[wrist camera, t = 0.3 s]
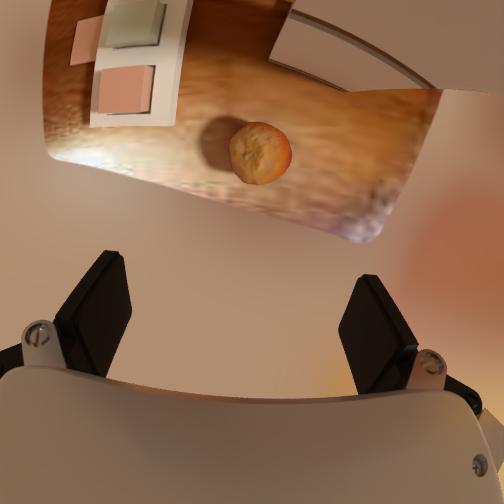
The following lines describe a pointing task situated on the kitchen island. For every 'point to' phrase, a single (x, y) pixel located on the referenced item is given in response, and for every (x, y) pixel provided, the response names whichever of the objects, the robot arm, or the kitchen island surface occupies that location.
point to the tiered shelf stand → (395, 44)
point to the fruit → (259, 153)
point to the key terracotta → (125, 89)
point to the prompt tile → (86, 40)
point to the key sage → (135, 24)
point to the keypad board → (156, 56)
